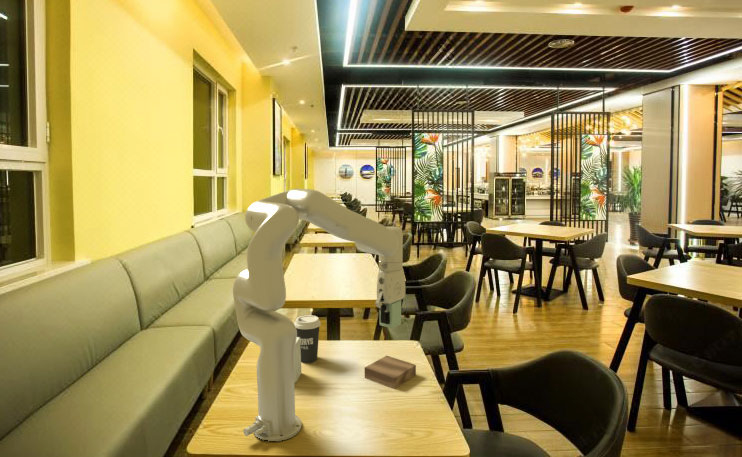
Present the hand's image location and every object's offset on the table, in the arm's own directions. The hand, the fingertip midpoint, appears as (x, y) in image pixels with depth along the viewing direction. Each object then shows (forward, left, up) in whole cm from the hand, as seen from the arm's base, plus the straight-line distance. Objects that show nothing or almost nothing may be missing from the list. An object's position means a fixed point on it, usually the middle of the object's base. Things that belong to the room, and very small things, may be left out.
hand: (390, 320), depth 154 cm
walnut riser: (0, 0, -20) cm, 20 cm away
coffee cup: (-7, +31, -20) cm, 37 cm away
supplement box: (-21, +26, -20) cm, 39 cm away
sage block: (0, 0, -1) cm, 1 cm away
